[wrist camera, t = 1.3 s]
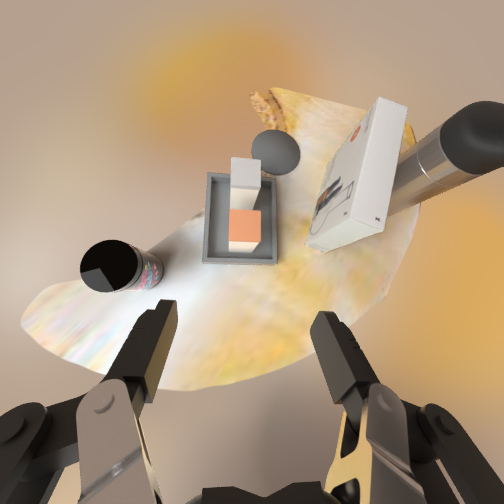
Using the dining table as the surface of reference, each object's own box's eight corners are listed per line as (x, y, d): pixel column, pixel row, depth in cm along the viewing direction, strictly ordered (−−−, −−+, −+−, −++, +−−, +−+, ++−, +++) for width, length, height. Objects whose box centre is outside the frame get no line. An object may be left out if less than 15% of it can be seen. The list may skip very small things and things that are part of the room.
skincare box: (325, 162, 43) (380, 93, 28) (346, 171, 43) (412, 107, 28) (301, 245, 39) (350, 217, 23) (325, 254, 39) (389, 233, 23)
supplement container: (126, 294, 33) (80, 297, 22) (123, 256, 34) (78, 243, 23) (166, 286, 34) (140, 286, 23) (162, 250, 35) (135, 235, 25)
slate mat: (296, 132, 43) (296, 130, 43) (301, 175, 42) (302, 173, 41) (249, 130, 42) (249, 128, 41) (253, 174, 40) (253, 173, 40)
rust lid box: (228, 229, 37) (229, 208, 27) (252, 230, 37) (260, 210, 27) (228, 252, 36) (228, 239, 26) (251, 253, 36) (260, 240, 27)
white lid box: (230, 190, 38) (231, 157, 28) (252, 191, 39) (260, 159, 29) (229, 211, 37) (230, 184, 28) (252, 212, 38) (260, 186, 28)
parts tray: (208, 179, 38) (207, 172, 36) (272, 184, 40) (275, 178, 38) (204, 263, 35) (202, 261, 33) (273, 265, 37) (277, 263, 34)
